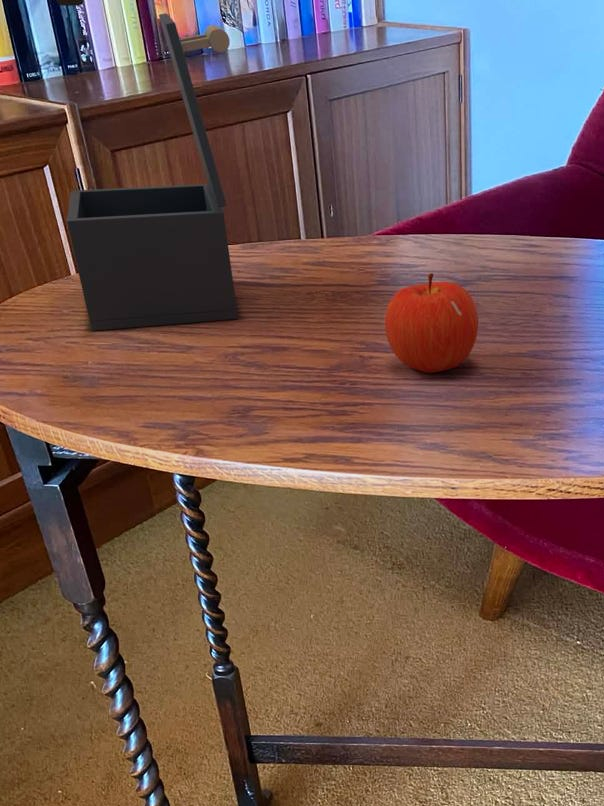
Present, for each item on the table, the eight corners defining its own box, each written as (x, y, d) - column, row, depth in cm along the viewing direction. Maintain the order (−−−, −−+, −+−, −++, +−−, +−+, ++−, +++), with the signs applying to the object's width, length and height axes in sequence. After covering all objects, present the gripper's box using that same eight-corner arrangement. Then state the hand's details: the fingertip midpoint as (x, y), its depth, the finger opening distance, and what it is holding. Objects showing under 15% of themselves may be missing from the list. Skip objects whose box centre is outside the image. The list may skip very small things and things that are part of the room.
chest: (91, 331, 92) (66, 220, 86) (93, 290, 102) (71, 190, 97) (238, 318, 95) (223, 212, 89) (225, 281, 106) (211, 183, 100)
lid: (165, 24, 80) (226, 12, 81) (158, 14, 91) (212, 4, 92) (218, 207, 89) (273, 195, 90) (206, 179, 100) (255, 169, 101)
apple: (496, 369, 85) (498, 275, 80) (422, 389, 80) (419, 292, 76) (442, 344, 90) (441, 255, 85) (369, 363, 86) (364, 270, 81)
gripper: (-21, -240, 78) (31, -1, 88) (-42, -271, 67) (20, 6, 77) (76, -234, 80) (117, -1, 89) (72, -263, 69) (118, 7, 78)
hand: (72, 2), depth 83 cm, fingers open, 8 cm apart
